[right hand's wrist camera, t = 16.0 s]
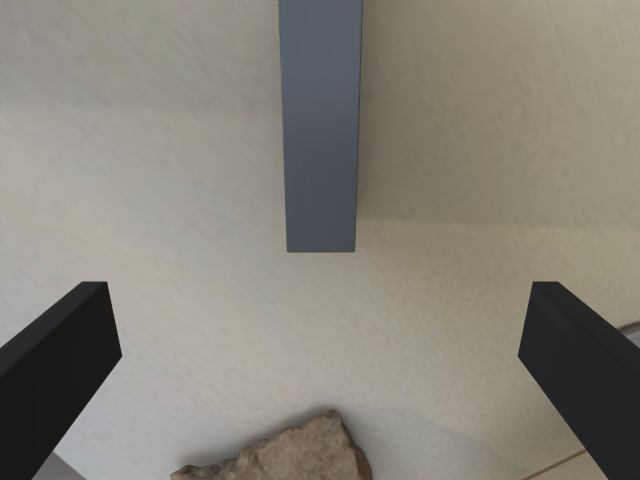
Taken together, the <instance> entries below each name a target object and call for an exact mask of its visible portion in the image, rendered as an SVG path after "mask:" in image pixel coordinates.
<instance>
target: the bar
mask: <svg viewBox="0 0 640 480" xmlns="http://www.w3.org/2000/svg"><path fill="white" fill-rule="evenodd" d="M362 9H363V0H279V28H280V58H281V89H282V120H283V150H284V181H285V211H286V242H287V252H355V234H356V202H357V170H358V137H359V105H360V73H361V41H362Z"/></svg>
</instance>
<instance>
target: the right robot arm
mask: <svg viewBox="0 0 640 480" xmlns="http://www.w3.org/2000/svg"><path fill="white" fill-rule="evenodd" d="M121 357H122V353H121V348H120V343H119V338H118V333H117V328H116V323H115V318H114V313H113V309H112V304H111V299H110V294H109V289H108V284H107V282H81V283H80V284H79V285H77V286H76V287H75V288H74V289H72V290H71V291H70V292H69V293H67V294H66V295H65V296H64V297H63V298H61V299H60V300H59V301H58V302H56V303H55V304H54V305H53V306H51V307H50V308H49V309H48V310H47V311H45V312H44V313H43V314H42V315H40V316H39V317H38V318H37V319H35V320H34V321H33V322H32V323H31V324H29V325H28V326H27V327H26V328H24V329H23V330H22V331H21V332H19V333H18V334H17V335H16V336H15V337H13V338H12V339H11V340H10V341H8V342H7V343H6V344H5V345H3V346H2V347H1V348H0V480H31V479H32V478H33V477H34V475H35V474H36V473H37V471H38V470H39V469H40V467H41V466H42V465H43V463H44V462H45V460H46V459H47V458H48V456H49V455H50V454H51V452H52V451H53V450H54V448H55V447H56V446H57V444H58V443H59V442H60V440H61V439H62V437H63V436H64V435H65V433H66V432H67V431H68V429H69V428H70V427H71V425H72V424H73V423H74V421H75V420H76V418H77V417H78V416H79V414H80V413H81V412H82V410H83V409H84V408H85V406H86V405H87V404H88V402H89V401H90V399H91V398H92V397H93V395H94V394H95V393H96V391H97V390H98V389H99V387H100V386H101V385H102V383H103V382H104V380H105V379H106V378H107V376H108V375H109V374H110V372H111V371H112V370H113V368H114V367H115V366H116V364H117V363H118V362H119V360H120V359H121ZM518 357H519V359H520V360H521V362H522V363H523V364H524V366H525V367H526V368H527V370H528V371H529V372H530V374H531V375H532V376H533V378H534V379H535V380H536V382H537V383H538V385H539V386H540V387H541V389H542V390H543V391H544V393H545V394H546V395H547V397H548V398H549V399H550V401H551V402H552V404H553V405H554V406H555V408H556V409H557V410H558V412H559V413H560V414H561V416H562V417H563V418H564V420H565V421H566V423H567V424H568V425H569V427H570V428H571V429H572V431H573V432H574V433H575V435H576V436H577V437H578V439H579V440H580V442H581V443H582V444H583V446H584V447H585V448H586V450H587V451H588V452H589V454H590V455H591V456H592V458H593V459H594V460H595V462H596V463H597V465H598V466H599V467H600V469H601V470H602V471H603V473H604V474H605V475H606V477H607V478H608V479H609V480H640V323H637V324H633V325H630V326H627V327H625V328H622V329H620V330H617V329H616V328H614V327H613V326H612V325H611V324H609V323H608V322H607V321H606V320H605V319H603V318H602V317H601V316H600V315H598V314H597V313H596V312H595V311H593V310H592V309H591V308H590V307H589V306H587V305H586V304H585V303H584V302H582V301H581V300H580V299H579V298H577V297H576V296H575V295H574V294H573V293H571V292H570V291H569V290H568V289H566V288H565V287H564V286H563V285H561V284H560V283H559V282H533V284H532V289H531V294H530V299H529V304H528V309H527V313H526V318H525V323H524V328H523V333H522V338H521V343H520V348H519V353H518Z"/></svg>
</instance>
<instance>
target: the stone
mask: <svg viewBox="0 0 640 480" xmlns="http://www.w3.org/2000/svg"><path fill="white" fill-rule="evenodd" d="M171 480H373V479H372V473H371V468H370V466H369V463H368V461H367V460H366V458H365V456H364V455H363V453H362V452H361V451H360V450H359V449H357V448H356V447H355V445H354V443H353V441H352V439H351V437H350V435H349V434H348V432H347V430H346V428H345V426H344V425H343V424H342V417H341V416H340V415H339V413H337V412H336V411H335V410H330V411H328V412H326V413H324V414H321V415H318V416H316V417H315V418H313V419H311V420H309V421H308V422H306V423H305V424H304V425H301V426H296V427H291V428H290V427H287V428H286V429H285V430H283V431H282V432H280V433H278V434H277V435H276V436H275V437H273V438H271V439H267V440H262V441H261V442H259V443H257V444H254V445H250V446H248V447H246V448H244V449H242V450H241V451H240V456H239V458H238V459H237V460H235V459H234V460H224V461H221V462H220V463H219V464H215V465H209V466H204V467H202V468H200V467H197V466H193V465H186V466H184V467H182V468H181V469H179V470H178V471H175V472H174V473H172V474H171Z"/></svg>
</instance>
